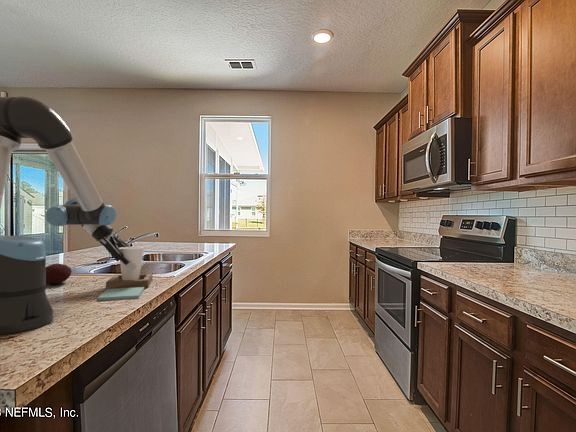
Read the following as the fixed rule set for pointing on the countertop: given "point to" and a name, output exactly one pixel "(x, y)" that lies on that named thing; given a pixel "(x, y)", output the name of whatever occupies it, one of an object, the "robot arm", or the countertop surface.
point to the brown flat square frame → (129, 282)
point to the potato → (57, 273)
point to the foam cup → (135, 257)
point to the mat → (121, 293)
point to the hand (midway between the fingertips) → (138, 267)
